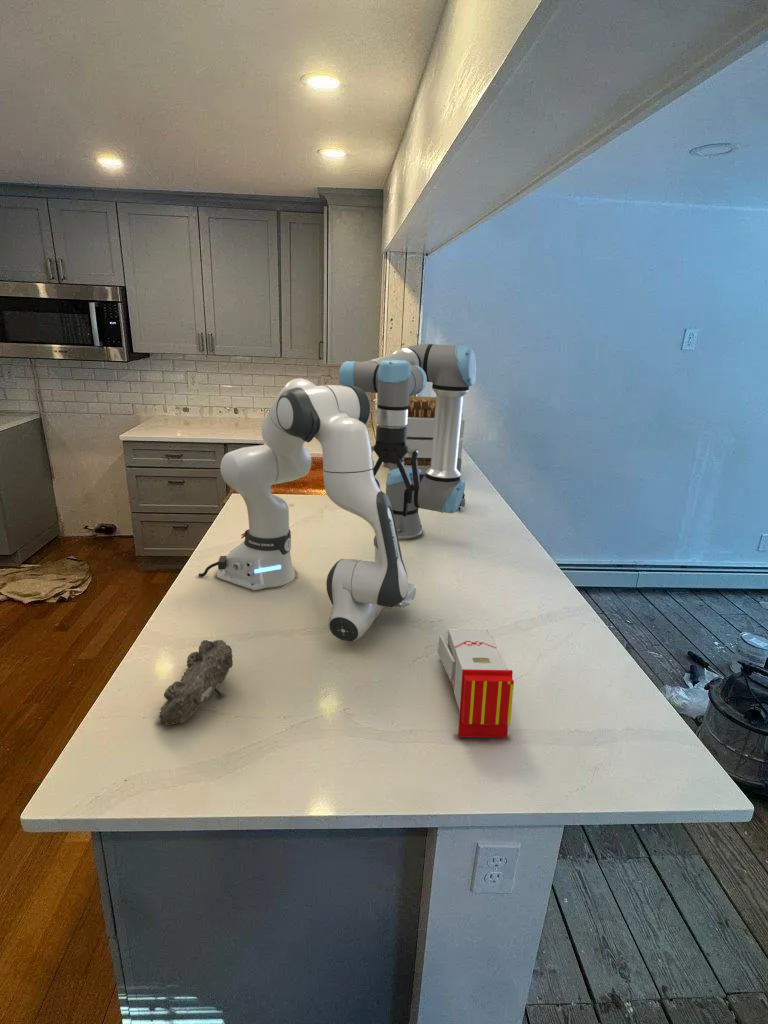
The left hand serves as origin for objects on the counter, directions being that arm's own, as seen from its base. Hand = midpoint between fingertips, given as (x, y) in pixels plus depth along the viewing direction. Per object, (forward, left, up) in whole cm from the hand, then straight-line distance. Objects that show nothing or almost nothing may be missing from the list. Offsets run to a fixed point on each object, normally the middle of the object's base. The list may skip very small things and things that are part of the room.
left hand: (385, 576), depth 153 cm
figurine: (-34, +82, -7) cm, 89 cm away
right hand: (0, -1, +18) cm, 19 cm away
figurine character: (+2, +84, -7) cm, 84 cm away
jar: (0, -1, -7) cm, 7 cm away
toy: (+30, -31, -7) cm, 44 cm away
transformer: (-25, +126, -7) cm, 128 cm away
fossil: (-21, -52, -7) cm, 57 cm away
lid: (0, -1, +11) cm, 11 cm away
